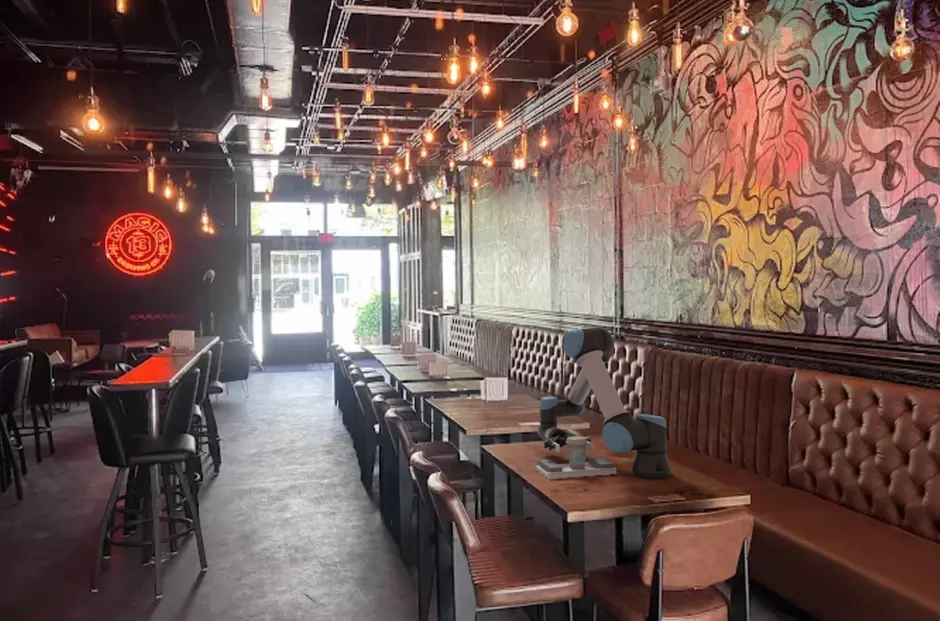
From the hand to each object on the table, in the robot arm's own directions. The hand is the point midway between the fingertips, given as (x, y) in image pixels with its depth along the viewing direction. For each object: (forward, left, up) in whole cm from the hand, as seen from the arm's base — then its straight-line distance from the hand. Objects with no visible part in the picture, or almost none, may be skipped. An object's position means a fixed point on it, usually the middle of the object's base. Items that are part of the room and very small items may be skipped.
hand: (575, 447), depth 292 cm
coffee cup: (0, -1, -8) cm, 8 cm away
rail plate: (0, 0, -10) cm, 10 cm away
